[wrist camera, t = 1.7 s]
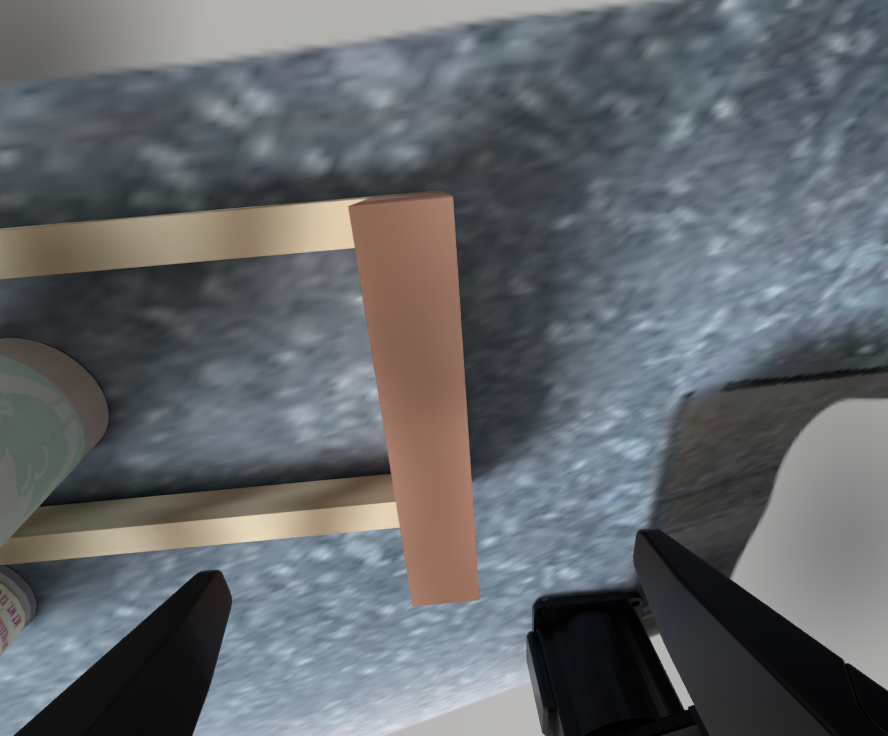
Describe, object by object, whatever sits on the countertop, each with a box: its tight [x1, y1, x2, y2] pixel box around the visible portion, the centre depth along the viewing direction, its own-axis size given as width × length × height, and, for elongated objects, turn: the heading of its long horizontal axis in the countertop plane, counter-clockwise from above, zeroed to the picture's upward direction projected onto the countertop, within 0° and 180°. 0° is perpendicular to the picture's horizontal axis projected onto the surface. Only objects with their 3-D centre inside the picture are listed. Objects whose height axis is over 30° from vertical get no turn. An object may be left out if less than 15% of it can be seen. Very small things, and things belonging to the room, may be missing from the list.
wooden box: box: [0, 190, 479, 606], centre depth 16 cm, size 25×14×6 cm, turn 95°
